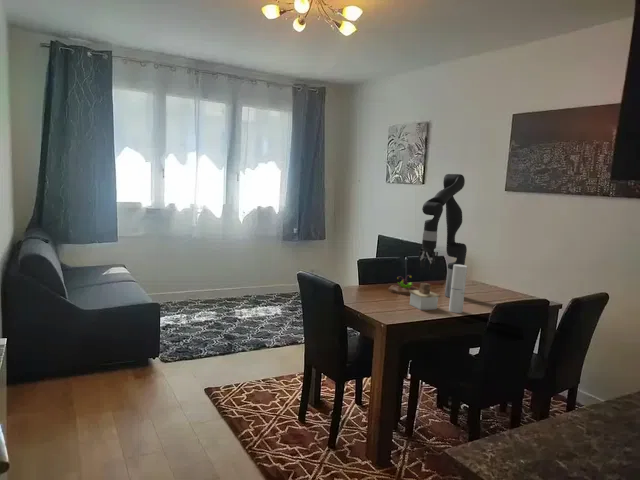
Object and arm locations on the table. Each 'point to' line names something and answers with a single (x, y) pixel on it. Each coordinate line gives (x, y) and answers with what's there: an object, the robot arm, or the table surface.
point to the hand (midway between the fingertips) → (426, 268)
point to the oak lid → (424, 291)
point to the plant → (402, 287)
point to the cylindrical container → (457, 288)
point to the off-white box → (423, 302)
